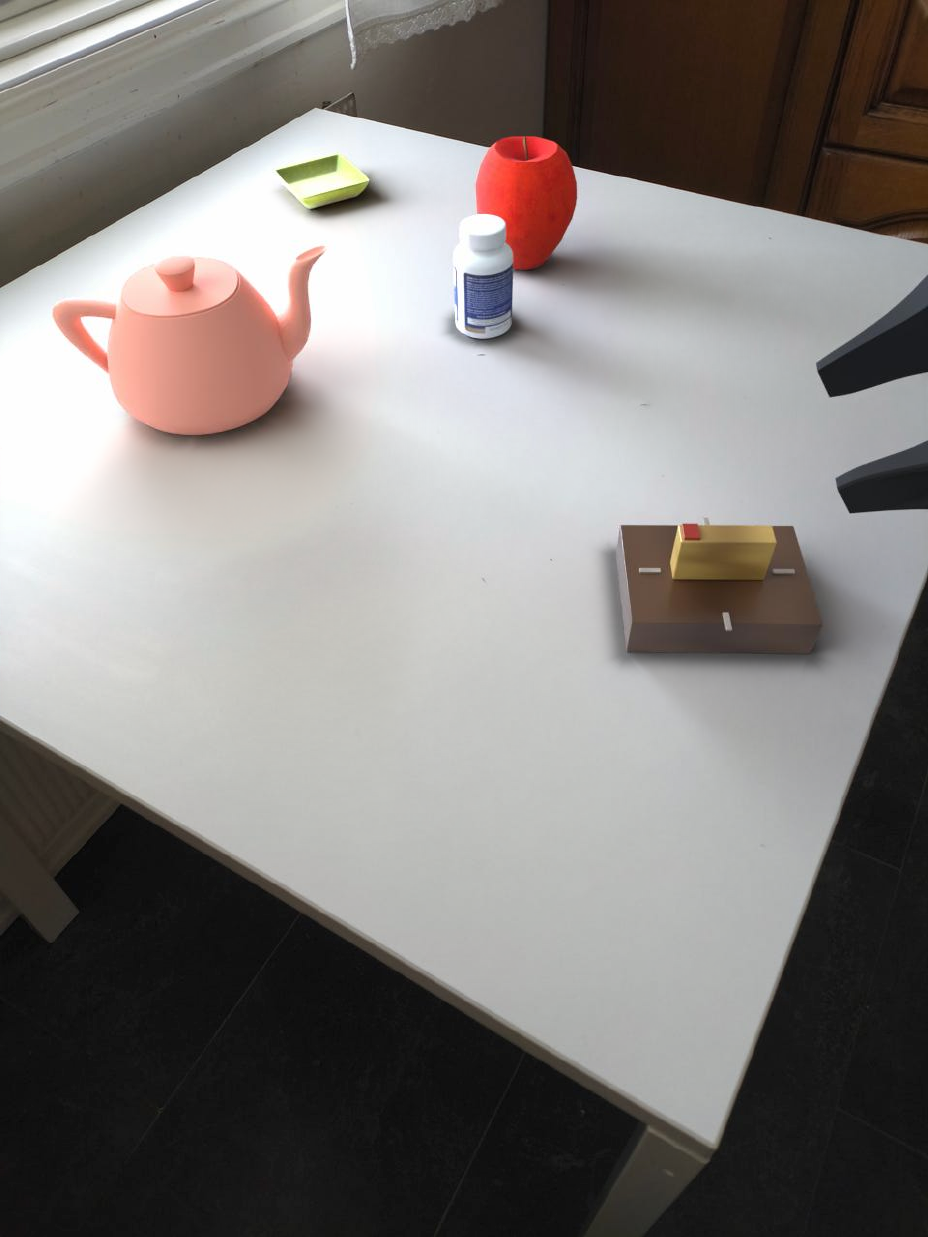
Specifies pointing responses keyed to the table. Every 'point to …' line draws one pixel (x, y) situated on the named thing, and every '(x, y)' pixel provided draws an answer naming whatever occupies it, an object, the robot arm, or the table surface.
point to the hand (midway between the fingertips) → (831, 435)
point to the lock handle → (722, 552)
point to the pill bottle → (483, 277)
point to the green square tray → (323, 180)
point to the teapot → (195, 342)
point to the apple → (528, 195)
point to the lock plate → (713, 600)
